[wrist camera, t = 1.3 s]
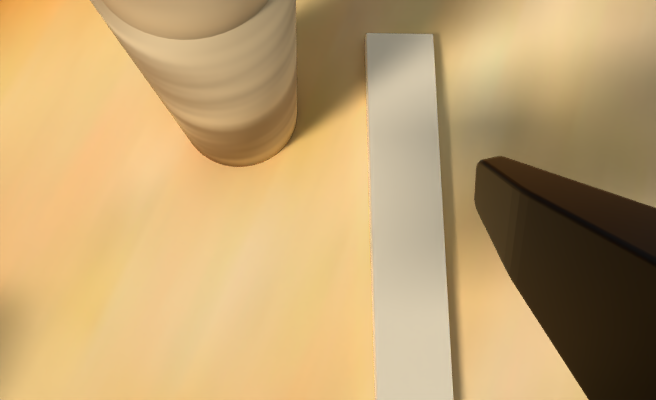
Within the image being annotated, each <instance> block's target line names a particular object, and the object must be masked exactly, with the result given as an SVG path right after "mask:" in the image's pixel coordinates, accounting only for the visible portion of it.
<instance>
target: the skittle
mask: <svg viewBox="0 0 656 400" xmlns="http://www.w3.org/2000/svg"><path fill="white" fill-rule="evenodd" d="M90 1H91V2H92V4H93V5H94V7H95V8H96V10H97V11H98V13H99V14H100V15H101V17H102V18H103V20H104V21H105V22H106V24H107V25H108V27H109V28H110V29H111V31H112V32H113V34H114V35H115V36H116V38H117V39H118V41H119V42H120V43H121V45H122V46H123V48H124V49H125V50H126V52H127V53H128V55H129V56H130V57H131V59H132V60H133V62H134V63H135V64H136V66H137V67H138V69H139V70H140V71H141V73H142V74H143V76H144V77H145V78H146V80H147V81H148V83H149V84H150V85H151V87H152V88H153V90H154V91H155V92H156V94H157V95H158V97H159V98H160V99H161V101H162V102H163V104H164V105H165V106H166V108H167V109H168V111H169V112H170V113H171V115H172V116H173V118H174V119H175V120H176V122H177V123H178V125H179V126H180V127H181V129H182V130H183V132H184V133H185V134H186V136H187V137H188V139H189V140H190V141H191V143H192V144H193V145H194V147H195V148H196V149H197V150H198V151H199V152H200V153H202V154H203V155H204V156H206V157H207V158H209V159H210V160H212V161H215V162H217V163H220V164H223V165H227V166H234V167H244V166H251V165H255V164H259V163H262V162H264V161H266V160H268V159H270V158H271V157H273V156H274V155H276V154H277V153H278V152H279V151H280V150H281V149H282V148H283V147H284V146H285V145H286V144H287V142H288V141H289V139H290V137H291V135H292V134H293V131H294V128H295V125H296V121H297V50H296V0H90Z"/></svg>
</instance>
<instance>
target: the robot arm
mask: <svg viewBox="0 0 656 400" xmlns="http://www.w3.org/2000/svg"><path fill="white" fill-rule="evenodd" d="M474 200H475V206H476V209H477V211H478V214H479V216H480V218H481V220H482V222H483V224H484V226H485V228H486V230H487V232H488V234H489V236H490V238H491V240H492V242H493V244H494V246H495V248H496V250H497V253H498V255H499V257H500V259H501V261H502V263H503V265H504V267H505V269H506V271H507V273H508V274H509V276H510V278H511V280H512V281H513V283H514V284H515V286H516V288H517V289H518V291H519V292H520V294H521V295H522V297H523V299H524V300H525V302H526V303H527V305H528V306H529V308H530V309H531V311H532V313H533V314H534V316H535V317H536V319H537V320H538V322H539V323H540V325H541V326H542V328H543V330H544V331H545V333H546V334H547V336H548V337H549V339H550V340H551V342H552V344H553V345H554V347H555V348H556V350H557V351H558V353H559V354H560V356H561V357H562V359H563V361H564V362H565V364H566V365H567V367H568V368H569V370H570V371H571V373H572V375H573V376H574V378H575V379H576V381H577V382H578V384H579V385H580V387H581V388H582V390H583V392H584V393H585V395H586V396H587V398H588V399H589V400H656V208H654V207H651V206H648V205H645V204H642V203H639V202H636V201H633V200H630V199H627V198H625V197H622V196H619V195H616V194H613V193H610V192H607V191H604V190H601V189H598V188H595V187H592V186H589V185H586V184H583V183H580V182H577V181H574V180H571V179H568V178H565V177H562V176H559V175H556V174H553V173H550V172H547V171H544V170H542V169H539V168H536V167H533V166H530V165H527V164H524V163H521V162H518V161H515V160H512V159H509V158H506V157H503V156H496V157H492V158H487V159H483V160H480V161H479V162H478V164H477V167H476V180H475V196H474Z"/></svg>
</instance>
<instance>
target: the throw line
mask: <svg viewBox="0 0 656 400" xmlns="http://www.w3.org/2000/svg"><path fill="white" fill-rule="evenodd" d="M365 69H366V104H367V139H368V174H369V209H370V244H371V279H372V314H373V350H374V385H375V400H453V383H452V365H451V347H450V330H449V312H448V294H447V276H446V258H445V240H444V222H443V204H442V186H441V168H440V151H439V133H438V115H437V97H436V79H435V61H434V43H433V34H397V33H366V37H365Z"/></svg>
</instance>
